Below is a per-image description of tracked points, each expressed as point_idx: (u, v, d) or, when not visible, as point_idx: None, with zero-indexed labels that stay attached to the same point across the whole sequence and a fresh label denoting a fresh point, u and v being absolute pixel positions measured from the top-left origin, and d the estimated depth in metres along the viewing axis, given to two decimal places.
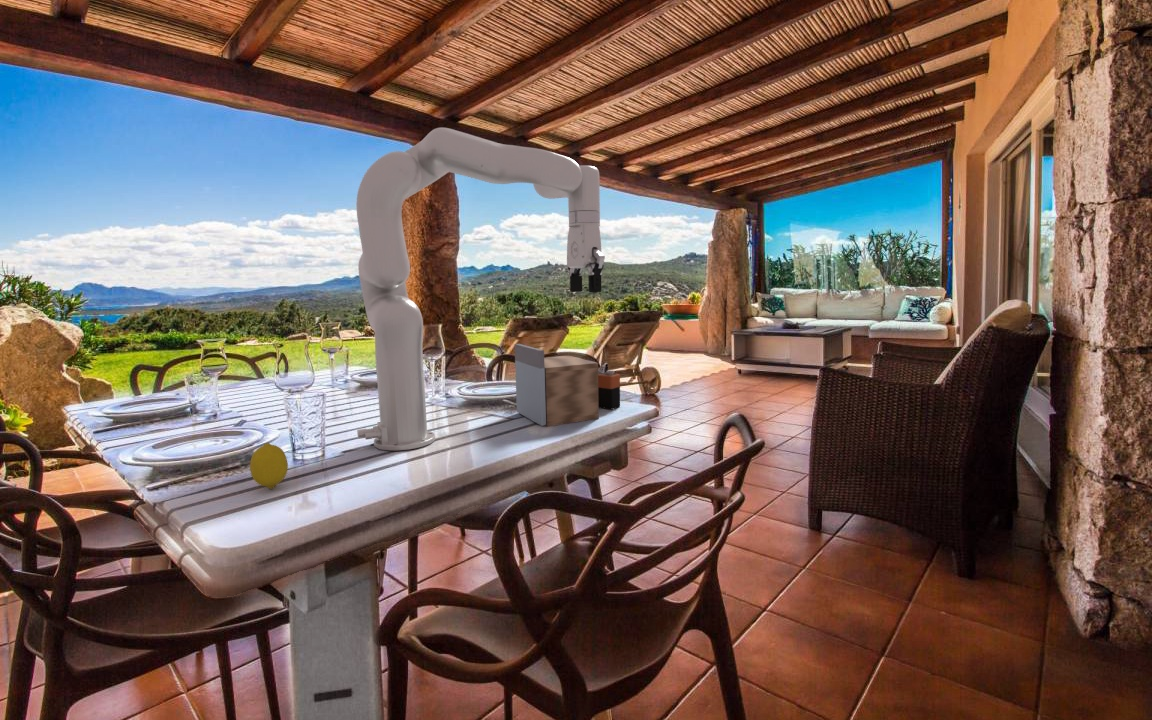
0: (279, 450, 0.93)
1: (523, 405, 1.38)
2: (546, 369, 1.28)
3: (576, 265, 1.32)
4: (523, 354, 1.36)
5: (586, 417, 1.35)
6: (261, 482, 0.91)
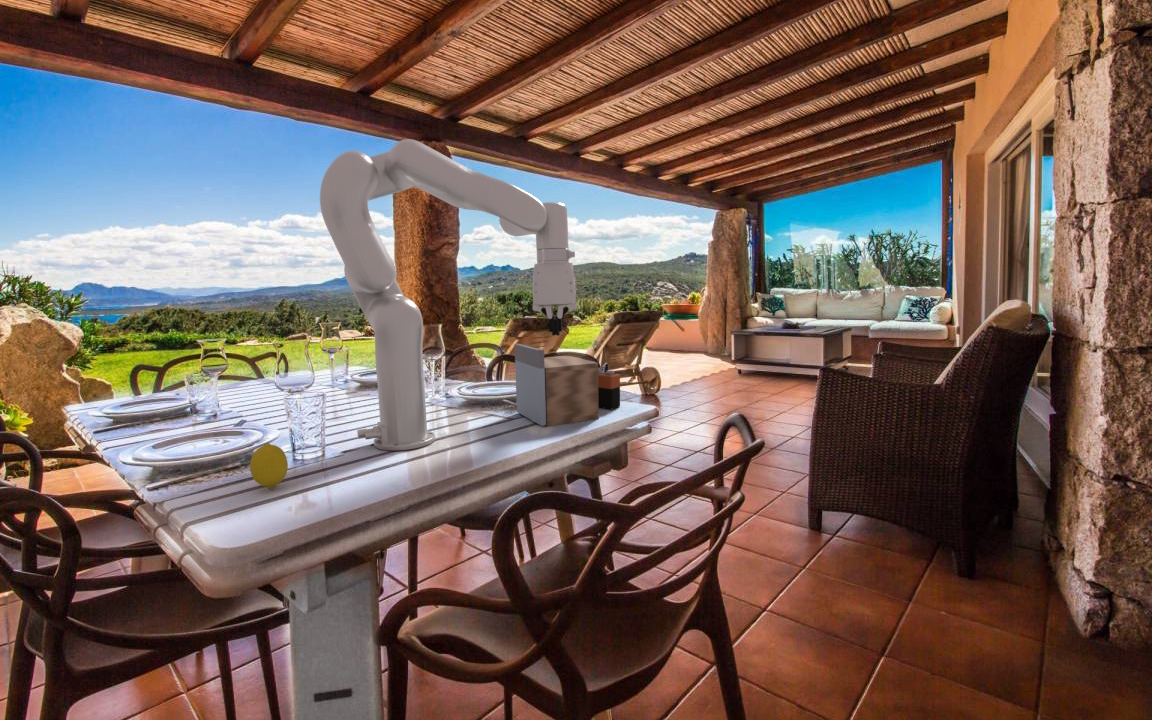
0: (279, 450, 0.93)
1: (523, 405, 1.38)
2: (546, 369, 1.28)
3: None
4: (523, 354, 1.36)
5: (586, 417, 1.35)
6: (261, 482, 0.91)
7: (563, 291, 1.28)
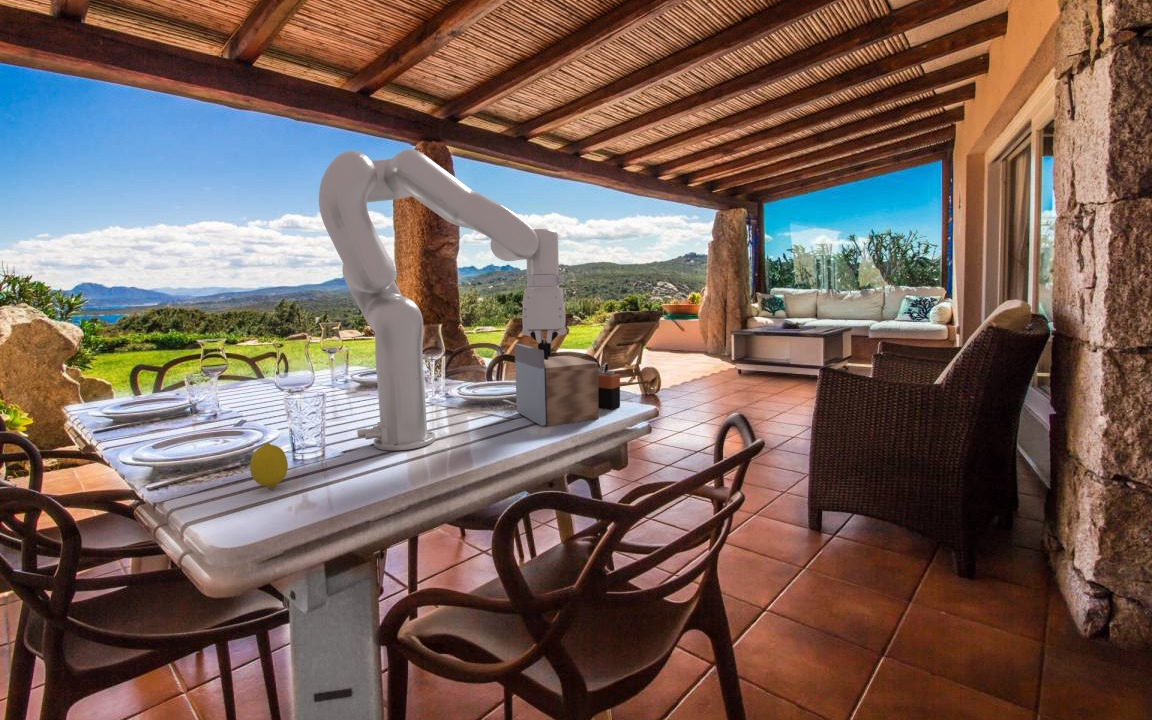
0: (279, 450, 0.93)
1: (523, 405, 1.38)
2: (546, 369, 1.28)
3: None
4: (523, 354, 1.36)
5: (586, 417, 1.35)
6: (261, 482, 0.91)
7: (552, 316, 1.29)
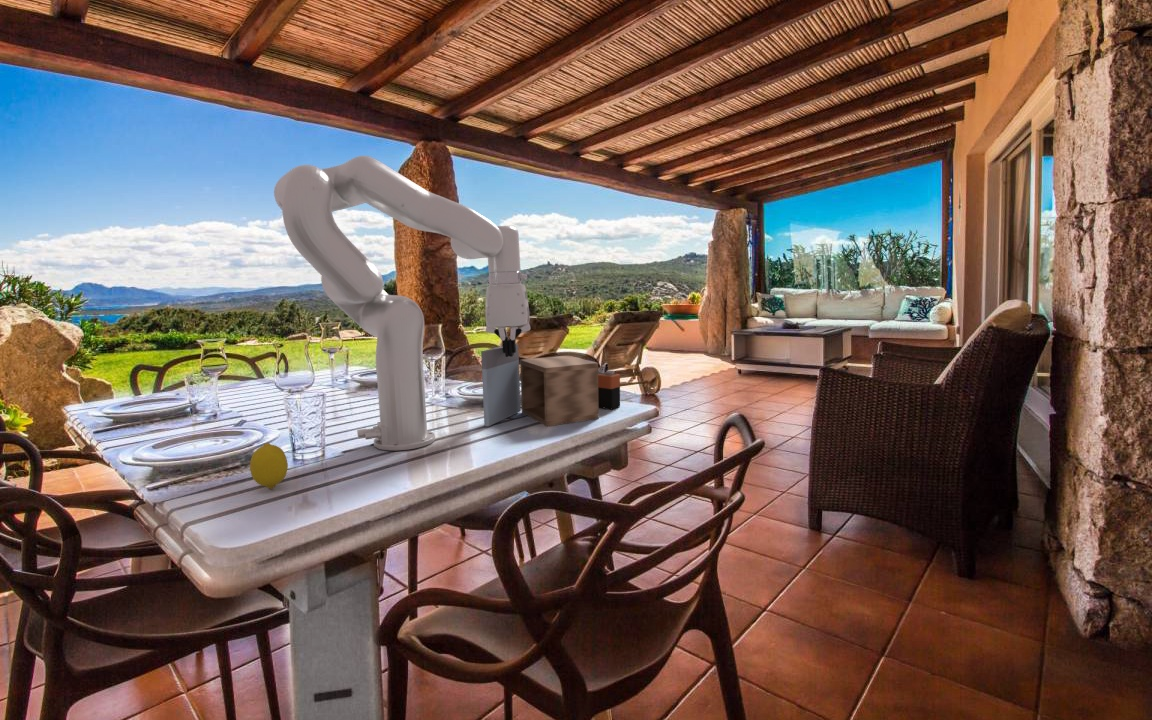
0: (279, 450, 0.93)
1: None
2: (546, 369, 1.28)
3: None
4: None
5: (586, 417, 1.35)
6: (261, 482, 0.91)
7: (515, 313, 1.29)
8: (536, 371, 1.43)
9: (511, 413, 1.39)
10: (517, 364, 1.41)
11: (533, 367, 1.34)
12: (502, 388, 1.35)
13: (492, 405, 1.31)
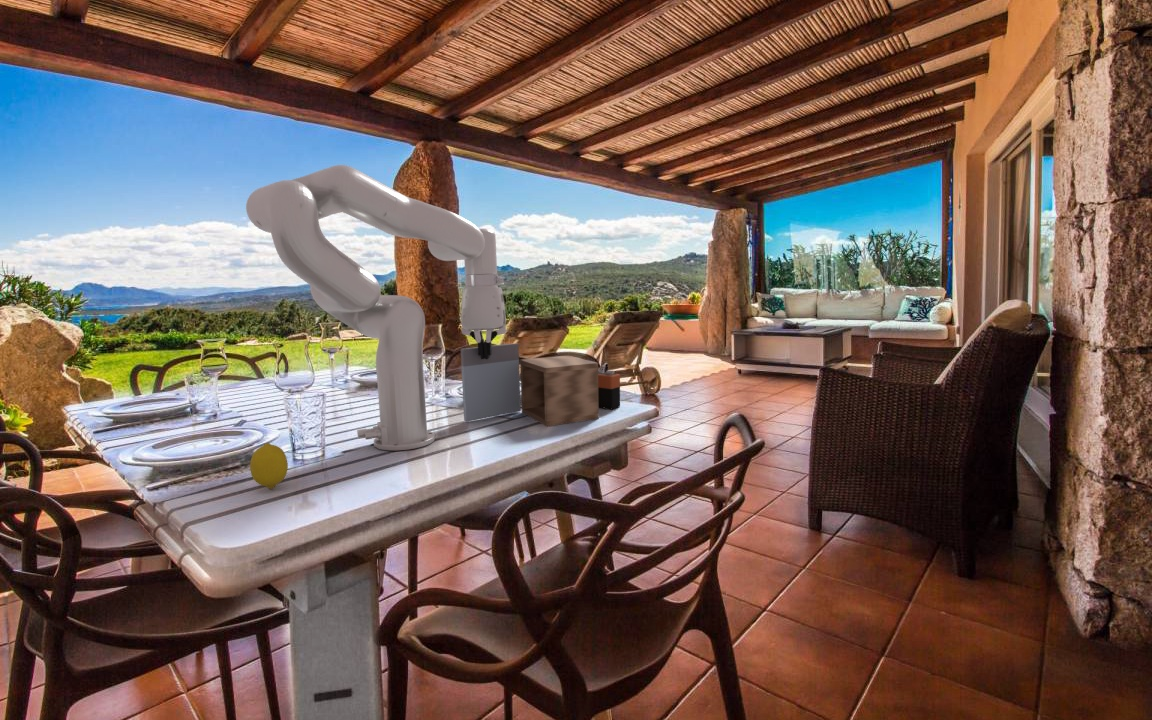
0: (279, 450, 0.93)
1: None
2: (546, 369, 1.28)
3: None
4: None
5: (586, 417, 1.35)
6: (261, 482, 0.91)
7: (491, 316, 1.29)
8: (536, 371, 1.43)
9: (504, 412, 1.41)
10: (516, 364, 1.42)
11: (533, 367, 1.34)
12: (489, 386, 1.37)
13: (473, 401, 1.35)
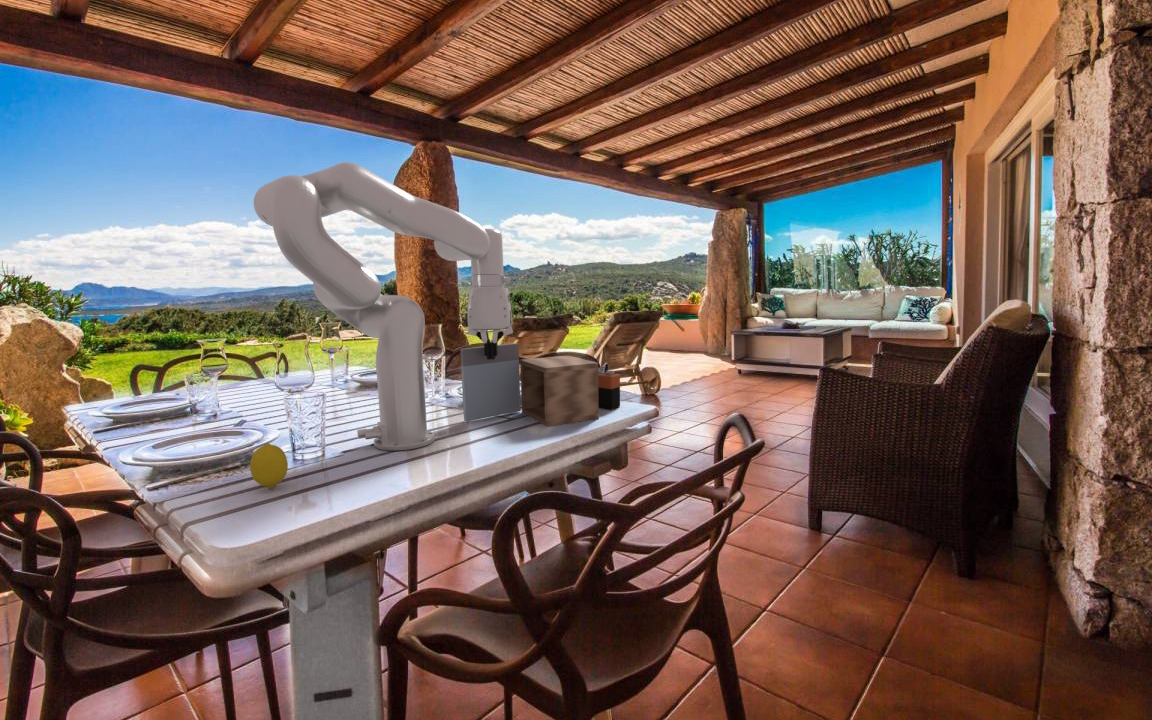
0: (279, 450, 0.93)
1: None
2: (546, 369, 1.28)
3: None
4: None
5: (586, 417, 1.35)
6: (261, 482, 0.91)
7: (497, 316, 1.29)
8: (536, 371, 1.43)
9: (504, 412, 1.41)
10: (516, 364, 1.42)
11: (533, 367, 1.34)
12: (489, 386, 1.37)
13: (472, 401, 1.35)
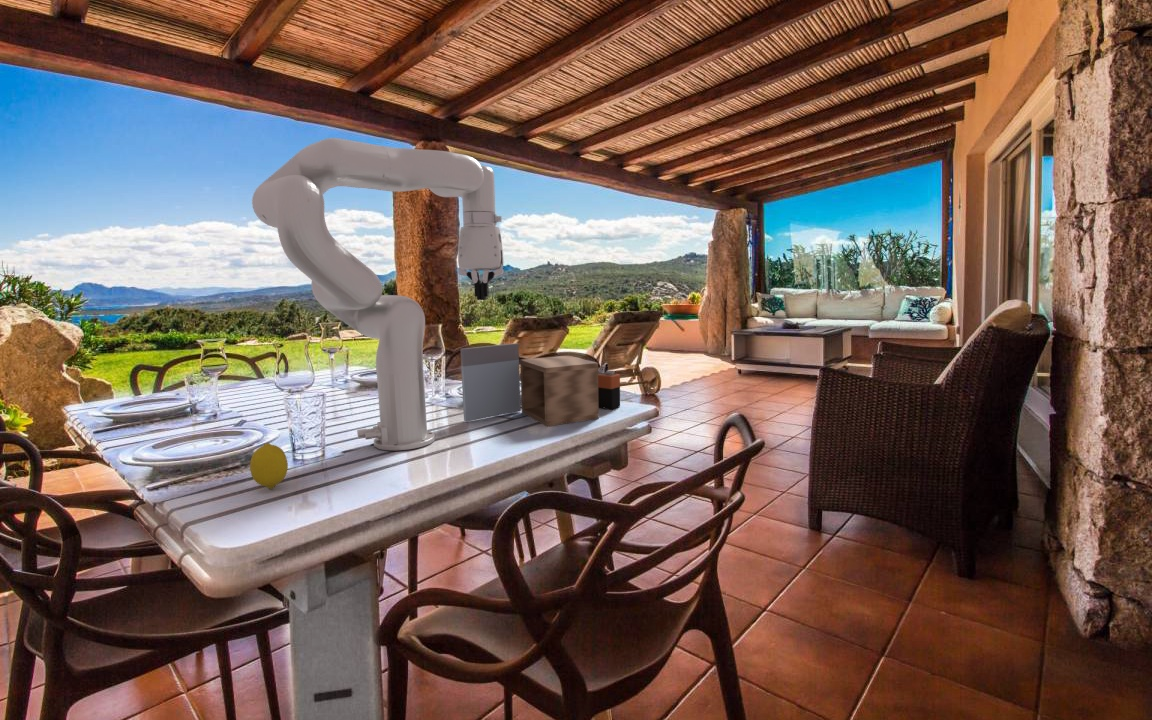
0: (279, 450, 0.93)
1: None
2: (546, 369, 1.28)
3: None
4: None
5: (586, 417, 1.35)
6: (261, 482, 0.91)
7: (488, 255, 1.28)
8: (536, 371, 1.43)
9: (504, 412, 1.41)
10: (516, 364, 1.42)
11: (533, 367, 1.34)
12: (489, 386, 1.37)
13: (472, 401, 1.35)
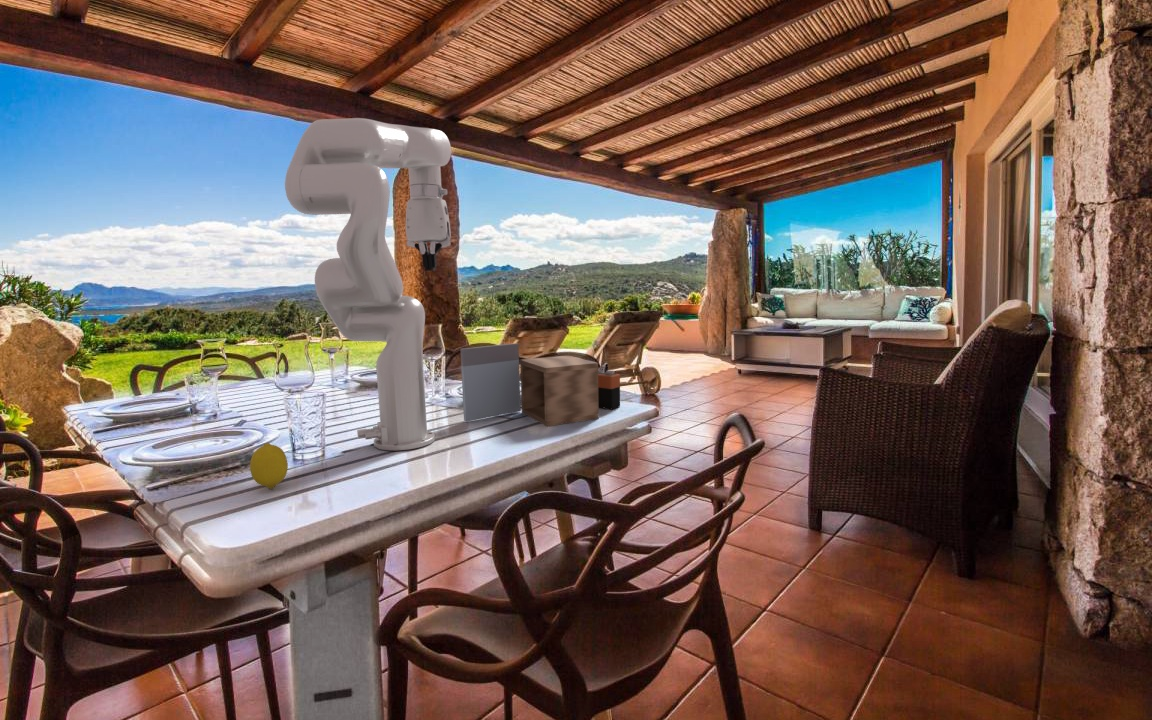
0: (279, 450, 0.93)
1: None
2: (546, 369, 1.28)
3: None
4: None
5: (586, 417, 1.35)
6: (261, 482, 0.91)
7: (434, 227, 1.33)
8: (536, 371, 1.43)
9: (504, 412, 1.41)
10: (516, 364, 1.42)
11: (533, 367, 1.34)
12: (489, 386, 1.37)
13: (472, 401, 1.35)
